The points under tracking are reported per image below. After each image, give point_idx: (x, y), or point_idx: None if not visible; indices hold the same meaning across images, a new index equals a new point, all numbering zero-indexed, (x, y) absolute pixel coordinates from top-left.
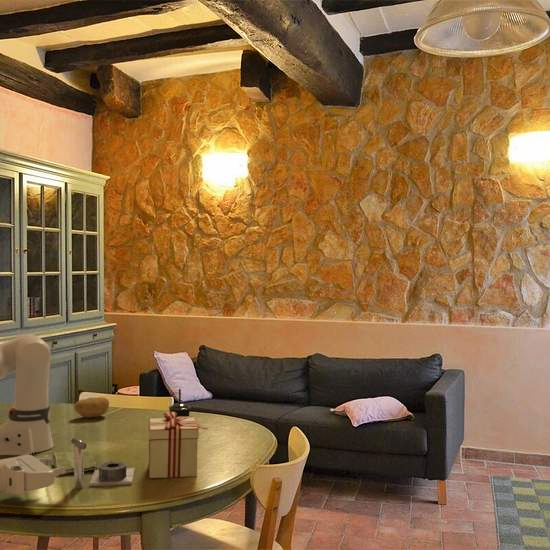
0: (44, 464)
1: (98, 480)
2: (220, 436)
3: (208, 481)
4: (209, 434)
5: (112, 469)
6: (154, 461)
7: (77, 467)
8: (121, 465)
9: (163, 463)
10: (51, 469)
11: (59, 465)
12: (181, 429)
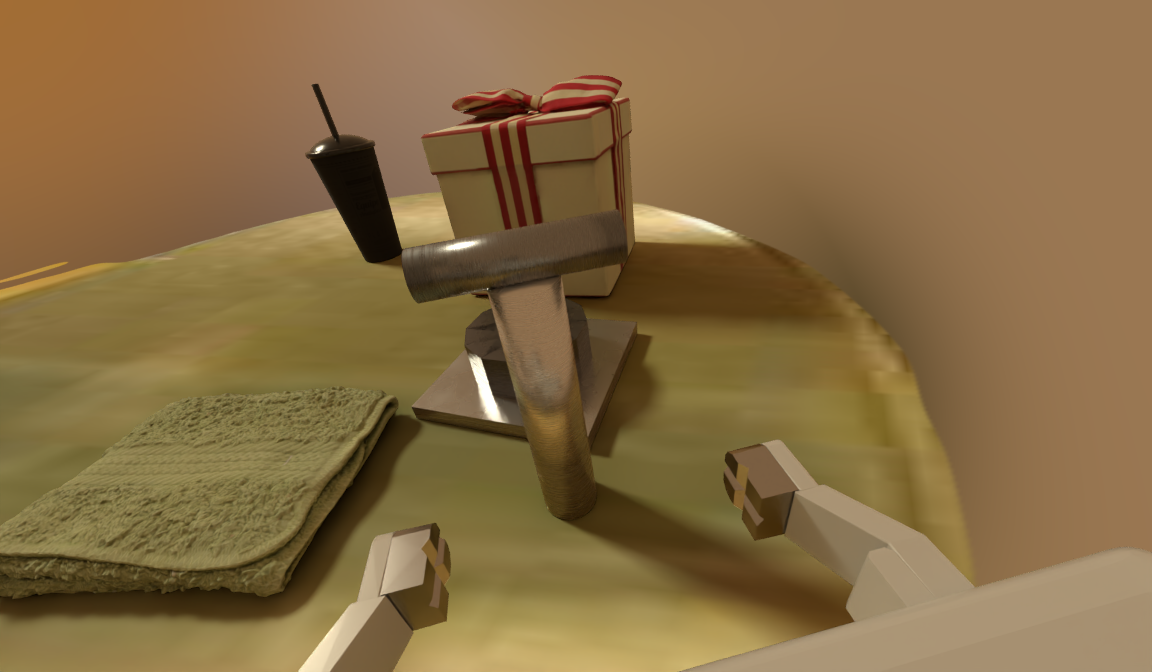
0: (395, 655)
1: None
2: (402, 220)
3: (682, 231)
4: None
5: (581, 326)
6: None
7: (577, 411)
8: None
9: None
10: (908, 575)
11: (207, 548)
12: (618, 103)
